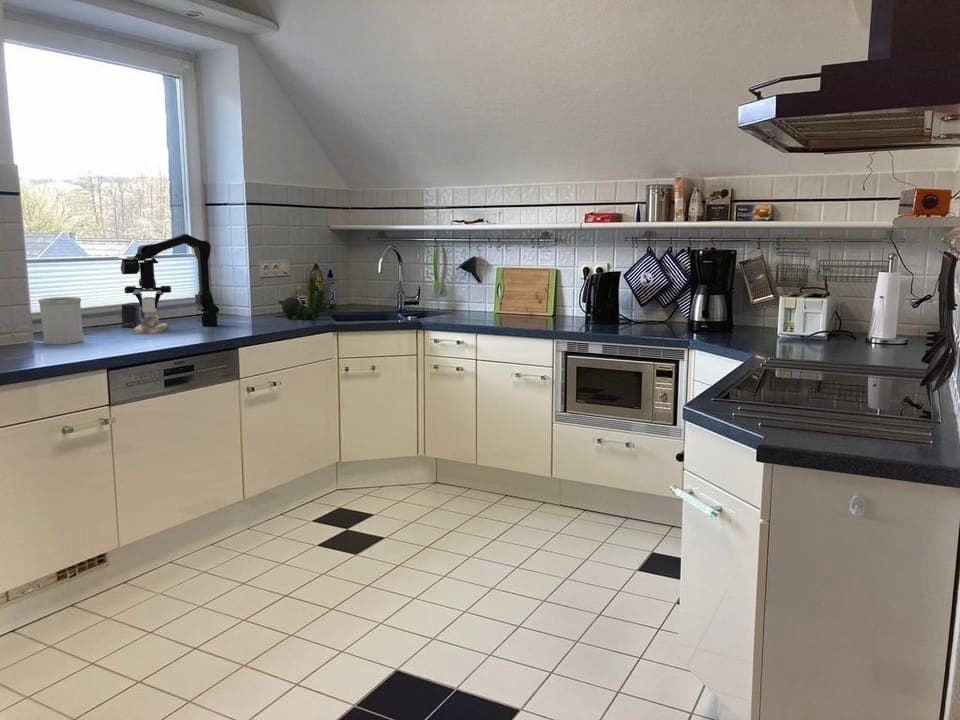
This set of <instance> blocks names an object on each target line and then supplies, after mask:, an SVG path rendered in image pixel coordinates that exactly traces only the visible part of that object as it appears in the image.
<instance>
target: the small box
mask: <svg viewBox="0 0 960 720" xmlns="http://www.w3.org/2000/svg"><path fill="white" fill-rule="evenodd" d="M145 313H146V312H143V309H142V307H141V305H140V302H130V303H125V304H121V319H122V321H121V323H122V328H136V327H137V326H138V325H139V324H141V320H142V319H145V317H146V316H145V315H146V314H145Z"/></svg>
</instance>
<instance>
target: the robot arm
mask: <svg viewBox="0 0 960 720" xmlns="http://www.w3.org/2000/svg"><path fill="white" fill-rule="evenodd" d="M184 244H186V246H189V247H190V248H192V249H193V252H194V255H195V258H196V260H197V271H198V273H197V275H198V288H199V289H198V290H199V291H198V294H194V297H195V302H194V303H195V304H196V306H197V308H198V309H200V311H201V312H202V315H201V325H202V327H218V325H219V323H218V314H219V313H220V312H219V311H220V308H219V307H218V306H217V305H216V304H215V302H214V298H213V295H212V292H211V289H210V271H209V270H210V269H209V258H210V256H211V249H212V246H211V243H210V242H209V241H207V240H203V239H202V240H201V239H198V238H196V237H194V236H192V235H189V234H188V233H181V234H179V235H177V236H175V237H171V238H168V239H166V240H162V241H160V242H156V243H150V244H149V243H148V244H143V245H140V246H138V247H137V253H135V255H134V257H133V258H122V259H121V264H120V271H121V274H122V275H138V273H139V274H140V276H139V277H140V278H138V285H139V286H138V287H137V286H135V285H127V286H125V287H124V294H132V296H135V297H136V299H137V300H138V303H140V305H141V307H142V298H143V295H142V292H155V309H156V310H157V308H158V304H159V301H160V298H161V296H162V295H164V294H166V293H168V294H169V293H172V287H171V286H170V285H161V286H157V283H156V279H155V267H154V265H155V264H159V261H158V260H156V258H154V257H155V256H158V255H159V254H160V253H162V252H164V251H167V250H169V249H173V248H175V247H178V246H181V245H184ZM142 309H143V308H142Z"/></svg>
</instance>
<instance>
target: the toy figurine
mask: <svg viewBox="0 0 960 720" xmlns="http://www.w3.org/2000/svg"><path fill="white" fill-rule="evenodd" d="M307 289H308V290H313V291H314V292H316V295H315V300H314V303H313V305H312V307H309V306H306V305H305V304H304V303H303V304H302V303H301V301H300V300H299V298H298V299H297V298H296V297H293V296H292V297H291V296H290V297H287V298H285V299H284V300H278V301H277V303H279V304H280V305H281V309H282V312H283V313H284V314H285V318H286V319H288V320H291V319H293V317H295V319H297V320H299V319H300V318H301V319H303V320H304V321H307V320H311V319H315V318H319V317H320V315H319V313H324V308H322V307H323V306H324V305H325V302H323V301H324V300H325V297H326V296H324V295H325V294H326V293H325V291H323V290H322V289H320V288H319V286H318V285H315V284H311V285H310V286H308V287H307Z"/></svg>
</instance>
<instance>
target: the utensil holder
mask: <svg viewBox="0 0 960 720" xmlns="http://www.w3.org/2000/svg"><path fill="white" fill-rule="evenodd" d="M81 298H82V297H79V296H78V297H77V296H54V297H53V296H51V297H42V298H39V299H38V304H39V311H40V317H41V327H42V328H41V329H42V334H43V340H44V341H43V342H44V343H45V344H46V345H47V344H48V345H68V344H76V343H80V342H83V341H84V337H83V336H84V335H83V320H82V318H83V317H82V307H81V302H82V299H81Z"/></svg>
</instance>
